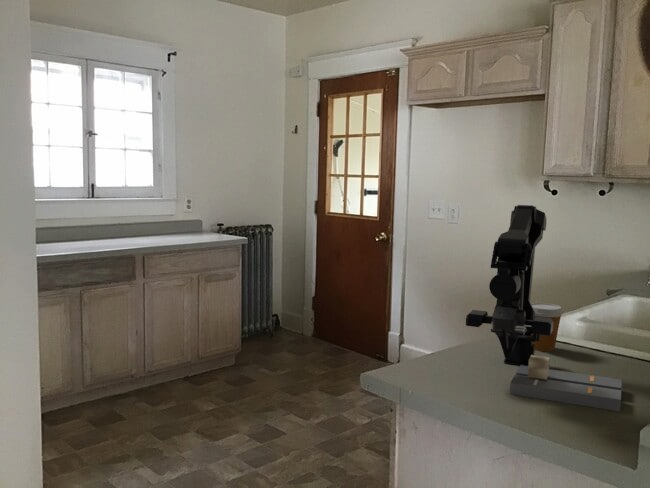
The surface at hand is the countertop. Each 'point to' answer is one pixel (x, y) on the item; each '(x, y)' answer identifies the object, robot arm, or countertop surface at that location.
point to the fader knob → (538, 367)
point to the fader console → (569, 388)
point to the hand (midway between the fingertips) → (507, 358)
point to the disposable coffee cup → (555, 314)
